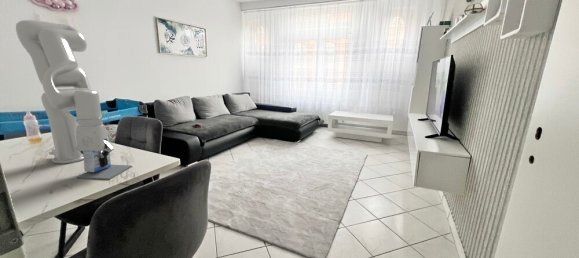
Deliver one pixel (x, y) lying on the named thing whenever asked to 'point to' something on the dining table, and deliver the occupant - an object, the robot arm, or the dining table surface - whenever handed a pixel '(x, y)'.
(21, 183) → the dining table surface
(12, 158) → the dining table surface
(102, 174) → the mat
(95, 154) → the medicine box
